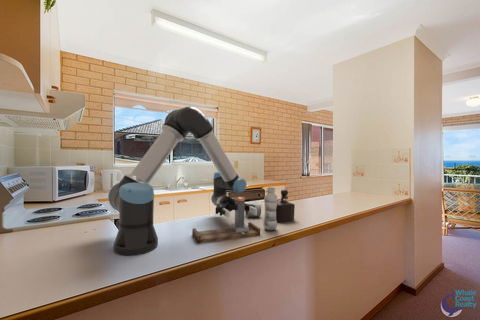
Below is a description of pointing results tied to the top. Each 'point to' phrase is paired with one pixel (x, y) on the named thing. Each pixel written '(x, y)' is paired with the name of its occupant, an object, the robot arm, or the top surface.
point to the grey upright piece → (239, 216)
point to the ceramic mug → (253, 214)
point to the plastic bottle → (270, 209)
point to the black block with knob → (284, 208)
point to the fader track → (223, 234)
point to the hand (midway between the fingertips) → (242, 213)
